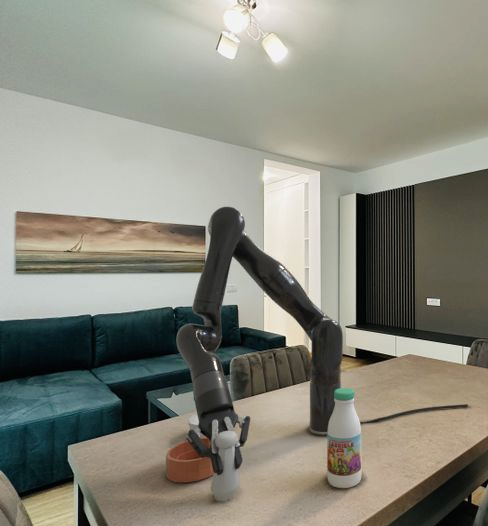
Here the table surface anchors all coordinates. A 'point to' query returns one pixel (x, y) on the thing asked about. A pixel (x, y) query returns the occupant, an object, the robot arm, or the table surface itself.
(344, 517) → the table surface
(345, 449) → the milk bottle
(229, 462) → the salt shaker
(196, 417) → the ramekin
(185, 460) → the bowl
